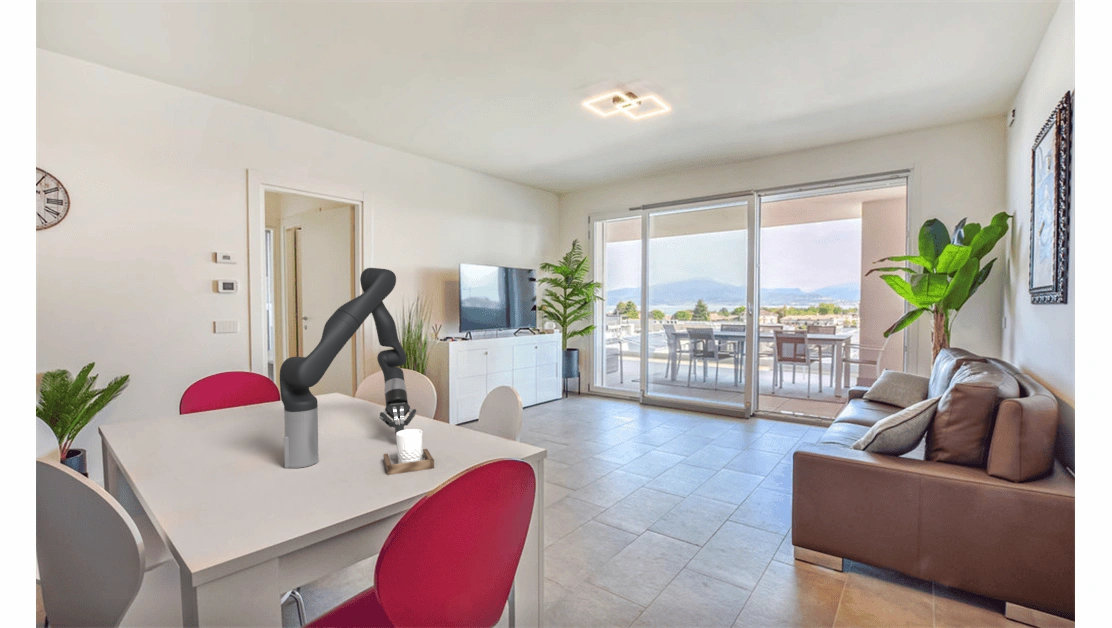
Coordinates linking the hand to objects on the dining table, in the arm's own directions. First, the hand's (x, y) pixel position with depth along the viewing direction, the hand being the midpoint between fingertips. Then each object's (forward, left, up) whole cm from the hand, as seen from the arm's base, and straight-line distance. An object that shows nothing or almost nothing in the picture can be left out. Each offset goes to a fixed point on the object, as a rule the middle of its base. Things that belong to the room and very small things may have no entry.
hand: (400, 435), depth 170 cm
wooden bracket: (0, -18, -4) cm, 19 cm away
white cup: (+1, -18, -4) cm, 19 cm away
